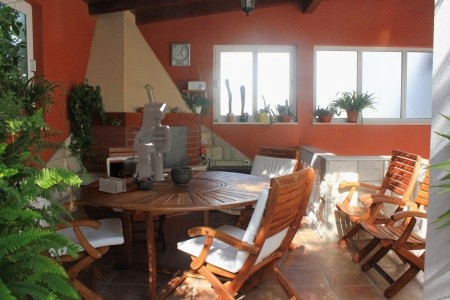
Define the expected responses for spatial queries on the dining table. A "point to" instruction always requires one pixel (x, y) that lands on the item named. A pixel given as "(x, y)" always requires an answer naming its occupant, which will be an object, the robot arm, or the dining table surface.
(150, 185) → the grey bracket
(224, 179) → the dining table surface
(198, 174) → the dining table surface
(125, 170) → the gourd
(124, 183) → the stand
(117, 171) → the coffee jar
